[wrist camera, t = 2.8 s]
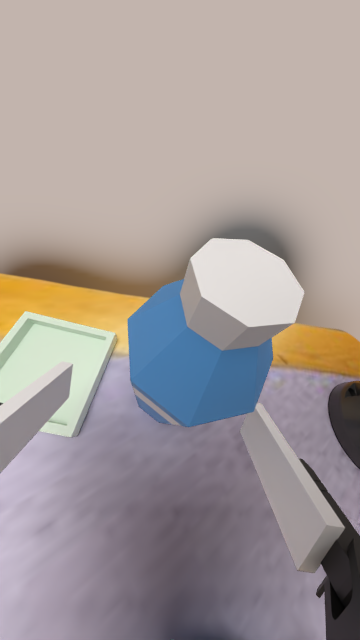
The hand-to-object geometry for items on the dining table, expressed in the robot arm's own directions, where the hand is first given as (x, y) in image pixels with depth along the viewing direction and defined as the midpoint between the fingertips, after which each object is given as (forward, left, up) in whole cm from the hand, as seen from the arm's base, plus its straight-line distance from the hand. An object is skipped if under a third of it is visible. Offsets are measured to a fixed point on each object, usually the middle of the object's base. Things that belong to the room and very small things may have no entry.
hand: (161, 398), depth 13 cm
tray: (+16, -2, -15) cm, 22 cm away
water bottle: (-1, -3, -15) cm, 16 cm away
